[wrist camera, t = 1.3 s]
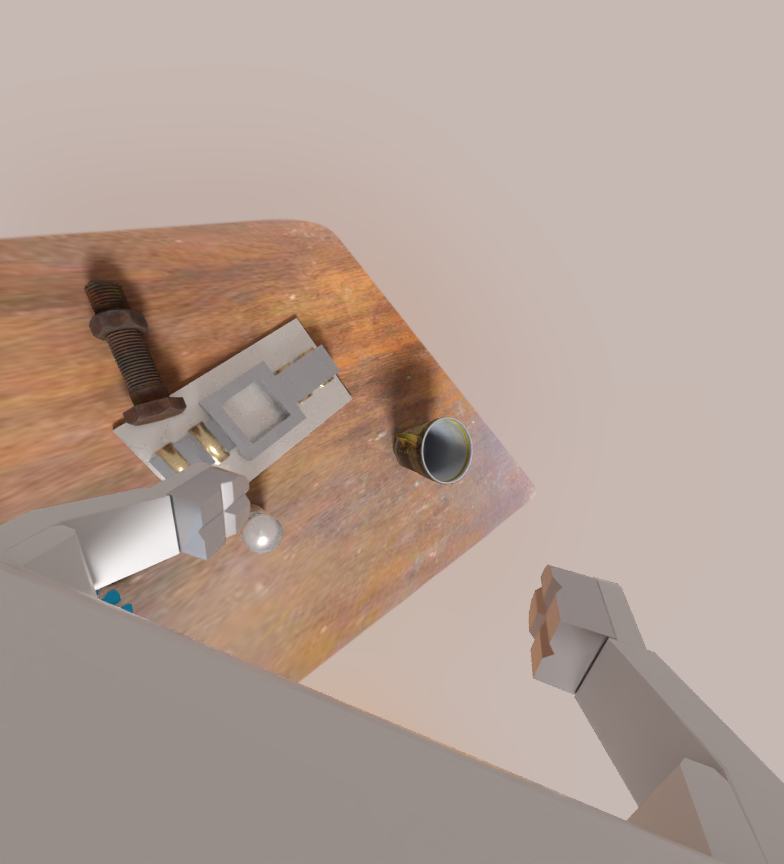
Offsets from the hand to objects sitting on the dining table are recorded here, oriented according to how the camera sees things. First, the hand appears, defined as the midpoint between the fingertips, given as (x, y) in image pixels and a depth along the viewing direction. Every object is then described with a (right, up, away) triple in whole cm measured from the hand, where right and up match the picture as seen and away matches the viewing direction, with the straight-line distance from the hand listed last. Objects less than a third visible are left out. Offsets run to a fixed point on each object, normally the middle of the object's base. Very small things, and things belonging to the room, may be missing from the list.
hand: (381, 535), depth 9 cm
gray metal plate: (-18, +5, +37) cm, 42 cm away
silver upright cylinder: (-19, -9, +37) cm, 42 cm away
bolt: (-29, +11, +31) cm, 44 cm away
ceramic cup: (+2, 0, +51) cm, 50 cm away
